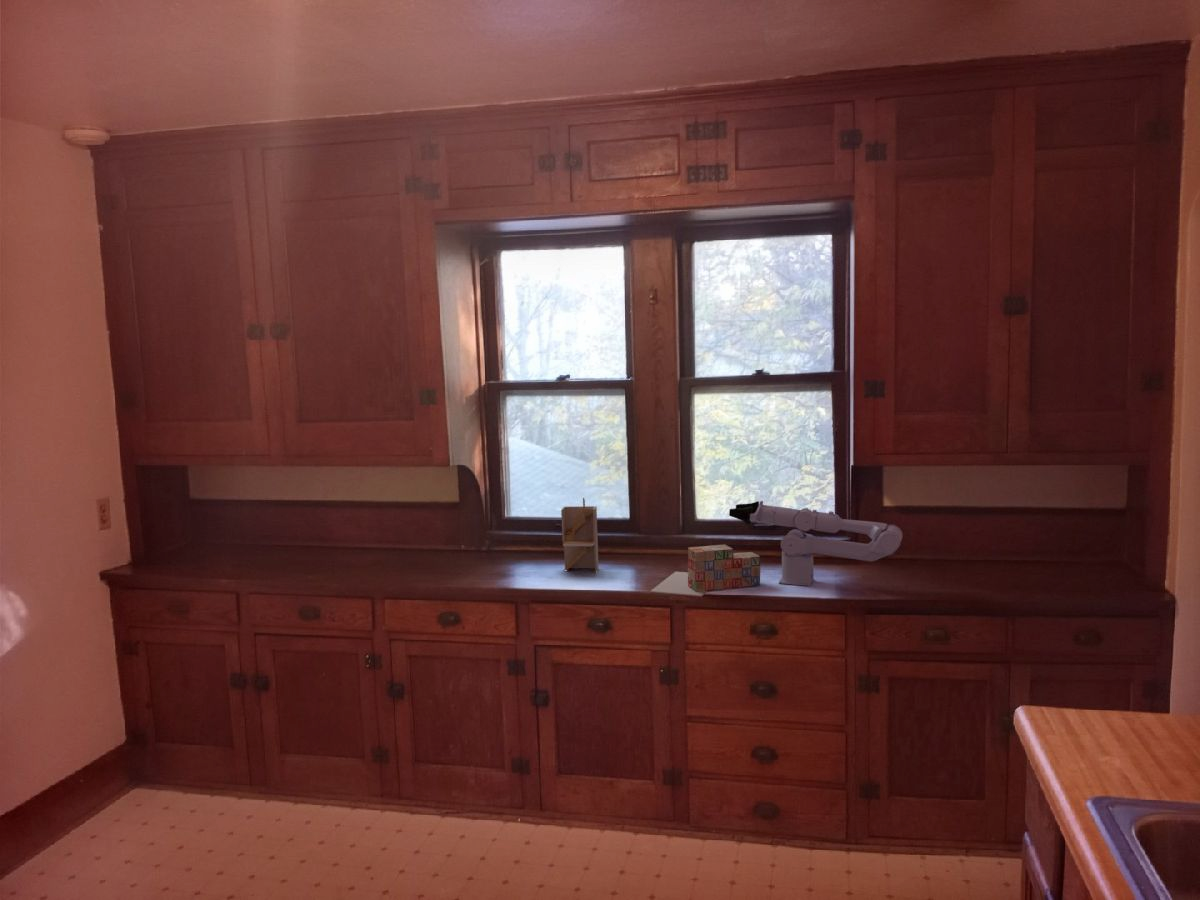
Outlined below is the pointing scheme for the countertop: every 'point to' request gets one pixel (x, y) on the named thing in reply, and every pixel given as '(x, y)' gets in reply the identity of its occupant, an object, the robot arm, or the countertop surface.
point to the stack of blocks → (721, 568)
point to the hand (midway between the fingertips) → (732, 510)
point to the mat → (677, 586)
